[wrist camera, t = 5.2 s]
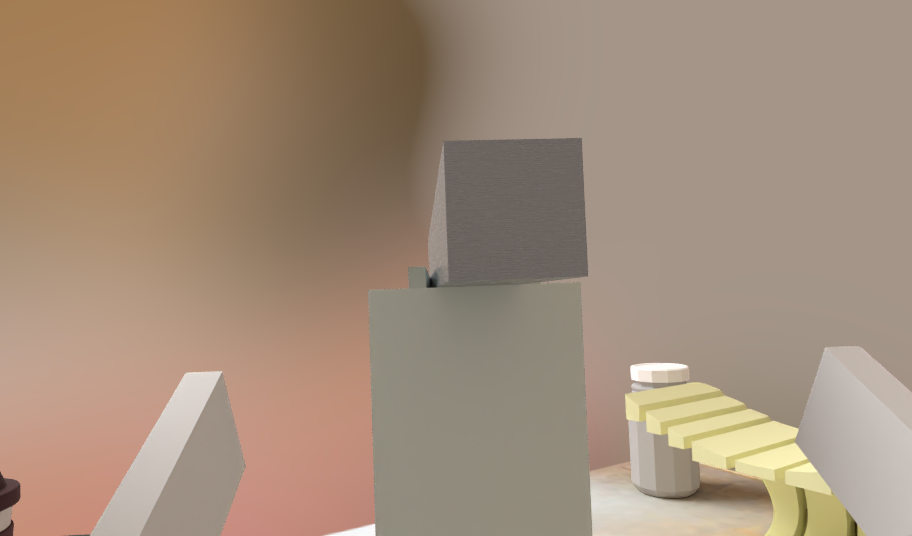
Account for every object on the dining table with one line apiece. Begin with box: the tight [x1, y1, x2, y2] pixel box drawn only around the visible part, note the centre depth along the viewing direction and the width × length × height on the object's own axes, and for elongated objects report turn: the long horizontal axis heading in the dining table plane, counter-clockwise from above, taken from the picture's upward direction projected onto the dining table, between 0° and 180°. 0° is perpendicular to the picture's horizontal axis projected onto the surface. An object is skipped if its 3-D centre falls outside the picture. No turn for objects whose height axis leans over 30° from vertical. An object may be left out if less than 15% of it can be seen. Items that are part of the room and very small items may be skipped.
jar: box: [629, 363, 700, 498], centre depth 88 cm, size 10×10×18 cm
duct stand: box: [368, 267, 592, 536], centre depth 35 cm, size 16×10×31 cm, turn 2°
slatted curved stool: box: [625, 382, 866, 536], centre depth 58 cm, size 30×16×18 cm, turn 32°
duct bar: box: [428, 138, 588, 288], centre depth 32 cm, size 30×4×4 cm, turn 4°
